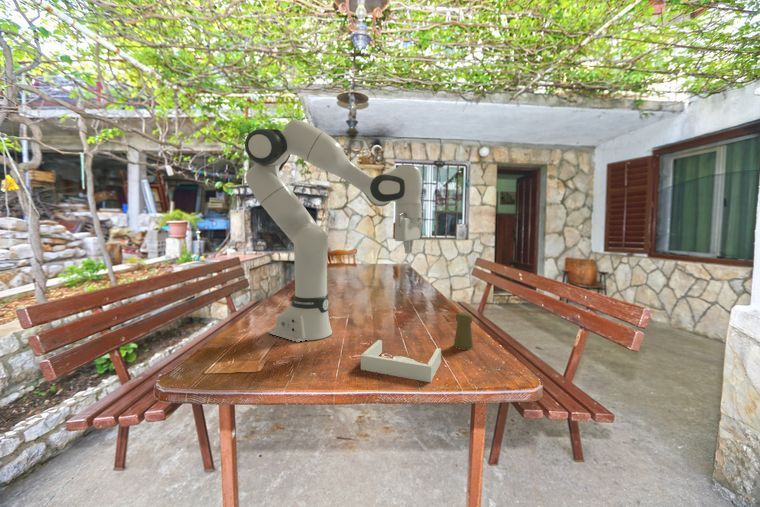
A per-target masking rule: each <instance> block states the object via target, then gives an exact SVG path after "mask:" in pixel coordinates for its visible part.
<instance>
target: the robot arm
mask: <svg viewBox="0 0 760 507" xmlns="http://www.w3.org/2000/svg"><path fill="white" fill-rule="evenodd" d="M244 148H245V152H246V154H247V156H248V157H249V158H250V160H251V161H253V162H254V163H253V166H251V167H250V168H249V169H248V170H247V171H246V174H245V181H246V184H247V185H248V186H247V187H248V188H249V189H250V191H251V193H252V194H253V195H254V197H255V199H256V200H257V201H258V202H259V204H260V205H261V206H262V208H263V209H264V210H265V211H266V213H267V214H268V215H269V216H270V218H271V219H272V220H273V221H274V223H275V224H276V225H277V227H279V228H280V230H281V231H282V232H283V233H284V234H285V236H286V237H287V238H288V239H289V240H290V242H292V244H293V256H294V283H295V284H294V290H295V294H294V295H293V296H291V297H288V299H289V300H288V301H289V302H291V303H290V306H288V307H287V308H286V309H285V310H284V311H282V312H281V313H280V314H279V315H278V316H277V317H276V321H275V326H274V327H272V328H271V329H270V330H269V332H268V334H269V333H270V334H273V335H276V336H280V337H283V338H286V339H289V340H288V341H290V340H292V341H291V342H294V341H296V342H295V343H301V342H300V341H302V342H306V341H305V340H307V341H315V340H321V339H325V338H328V337H329V336H331V335H332V333H333V330H332V327H331V323H330V318H329V305H330V304H329V302H330V301H329V294H328V276H327V275H328V257H329V256H328V252H329V250H328V248H329V246H328V244H329V239H328V235H327V233H326V231H325V230H324V229H323V228H321V227H320V226H319V225H318V224H317V222H316V221H315V219H314V218H313V216H311V214H310V213H309V211H308V210H307V209H306V207H305V206H304V204H303V203H302V201H301V200H300V199H299V198H298V196H297V195H296V194H295V193H294V191H293V190H292V188H291V187H290V186H289V184H287V183H286V181H285V180H284V178H283V177H282V176H281V174H280V173H281V172H280V171H281V170H282V169H283V168H284V167H285V165H286V163H287V162H288V161H289V159H290V157H291V155H293V156H297V157H299V158H300V159H303V161H305V162H306V163H308V164H310V165H312V166H314V167H315V168H318V169H320V170H322V171H325V172H327V173H329V174H332V175H334V176H337V177H339V178H341V179H343V180H344V181H346V182H347V183H349V184H350V185H352V186H353V187H355V188H356V189H358V190H359V191H361V192H362V193H363V194H364V195H365V196H366V197H365V198H367V200H368V201H369V202H370V204H372V205H374V206H375V207H384V206H387V205H388V204H390V203H391V202H395V218H396V219H395V223H394V241H395V242H403V243H402V244H403V247H404V254H407V255H409V254H412V253H413V246H414V240H420V239H421V236H422V226H423V225H422V224H423V222H422V220H423V219H424V212H423V211H422V205H423V204H422V200H421V196H422V191H423V190H422V189H423V188H422V187H423V186H422V183H423V182H422V173H421V170H420V168H418V167H417V166H414V165H411V164H400V165H398V166H397V167H396V168H393V169H392V170H390V171H387V172H385V173H382V174H378V175H376V176H375V177H374V176H371V175H369V173H367V172H365V171H364V170H363V169H361V168H360V167H358V166H356V165H355V164H354V163H353V162H351V160H350V159H349V158H348V156H347V155H346V153H345V151H344V149H343V147H342V145H341V144H340V143H339V142H338V141H337V140H335V138H333V137H332V136H331V135H329V134H328V133H326V132H324V131H323V130H322V129H320V128H318V127H316V126H314V125H312V124H310V123H307V122H305V121H304V120H300V119H293V120H292V119H291V120H290V121H289V122H288V123H287V124H286V125H285V126H284V128H283V130H282V131H281V130H279V129H277V128H276V129H275V128H259V129H258V128H257V129H254V130H253V131H251V132H249V134H248V135H247V136H246V138H245V141H244ZM276 336H275V337H276ZM283 338H282V339H283ZM286 339H285V340H286Z"/></svg>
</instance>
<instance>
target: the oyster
mask: <svg viewBox="0 0 760 507" xmlns="http://www.w3.org/2000/svg"><path fill="white" fill-rule="evenodd" d="M392 359H398V360H404V361H411V362H417V363H420V362H419V361H417V360H415V359H412V358H409V357H407V356H400V355H394V356H393V358H392Z"/></svg>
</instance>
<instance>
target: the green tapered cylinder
mask: <svg viewBox="0 0 760 507" xmlns="http://www.w3.org/2000/svg"><path fill="white" fill-rule="evenodd" d="M455 321H456V329H455V330H456V331H455V336H454V343H453V347H454V346H455V347H457V348H456V349H458V348H460V349H459V350H461V349H470V350H472V349H473V348H474V343H473V333H472V322H473V315H472V313H470V312H466V311H460V312H457V313H456V316H455ZM455 347H454V348H455ZM472 347H473V348H472ZM471 348H472V349H471Z"/></svg>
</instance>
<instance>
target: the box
mask: <svg viewBox="0 0 760 507" xmlns="http://www.w3.org/2000/svg"><path fill="white" fill-rule="evenodd" d="M381 353H383V340H381V339H378V340H376V341H375V342H374V343H373V344H372V345H371V346H369V347H368V348H367V349H366V350H365V351H364V352H363V353H362V354H360V370H361V371H365V370H366V371H367V372H371V373H376V372H377V373H376V374H382V375H387V374H388V375H387V376H393V377H399V378H404V379H410V380H414V381H415V380H416V381H421V382H426V383H427V382H428V383H432V381H433V379H434V377H435V374H436V373H437V371H438V369H439V367H440V365H441V363H442V348H438V347H436V349H435V351H434V352H433V354H432V356H431V358H430V359H429V360H428V362H427V363H423V362H419V363H417V362H418V361H417V362H411V361H404V360H398V359H393V358H392V357H386V356H379V355H380V354H381ZM381 355H382V354H381Z"/></svg>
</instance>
